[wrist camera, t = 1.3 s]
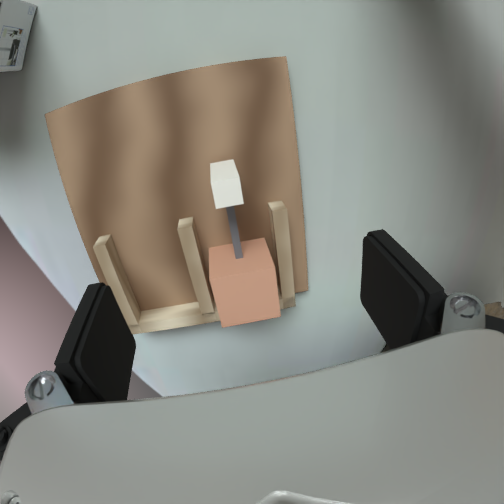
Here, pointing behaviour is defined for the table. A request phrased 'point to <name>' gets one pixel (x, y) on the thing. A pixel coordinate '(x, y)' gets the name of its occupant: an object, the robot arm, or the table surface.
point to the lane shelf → (182, 184)
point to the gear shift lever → (240, 261)
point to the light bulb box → (14, 32)
